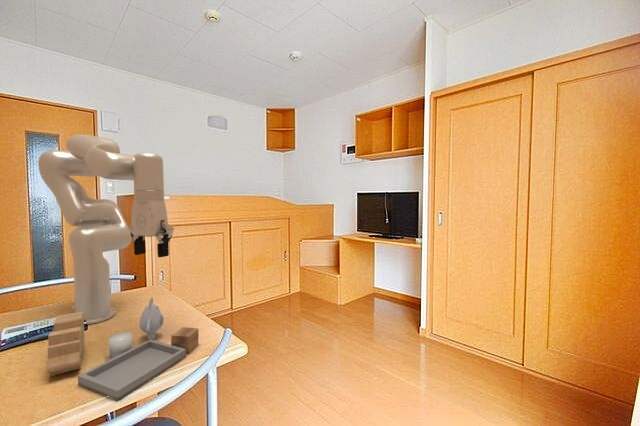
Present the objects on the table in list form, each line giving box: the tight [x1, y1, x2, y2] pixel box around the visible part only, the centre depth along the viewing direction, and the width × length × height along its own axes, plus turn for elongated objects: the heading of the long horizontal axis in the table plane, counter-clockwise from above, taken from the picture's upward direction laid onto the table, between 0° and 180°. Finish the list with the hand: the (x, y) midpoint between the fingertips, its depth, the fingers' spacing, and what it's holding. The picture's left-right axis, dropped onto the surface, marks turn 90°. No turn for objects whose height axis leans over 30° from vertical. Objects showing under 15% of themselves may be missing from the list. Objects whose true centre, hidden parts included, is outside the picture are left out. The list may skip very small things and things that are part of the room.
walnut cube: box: [170, 326, 199, 355], centre depth 82 cm, size 5×5×5 cm
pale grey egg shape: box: [108, 331, 133, 360], centre depth 78 cm, size 5×5×5 cm
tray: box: [77, 339, 187, 402], centre depth 71 cm, size 13×18×2 cm
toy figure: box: [138, 296, 164, 340], centre depth 87 cm, size 11×6×12 cm, turn 19°
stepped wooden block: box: [46, 311, 85, 377], centre depth 74 cm, size 6×17×10 cm, turn 36°
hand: (151, 255), depth 86 cm, fingers open, 9 cm apart
